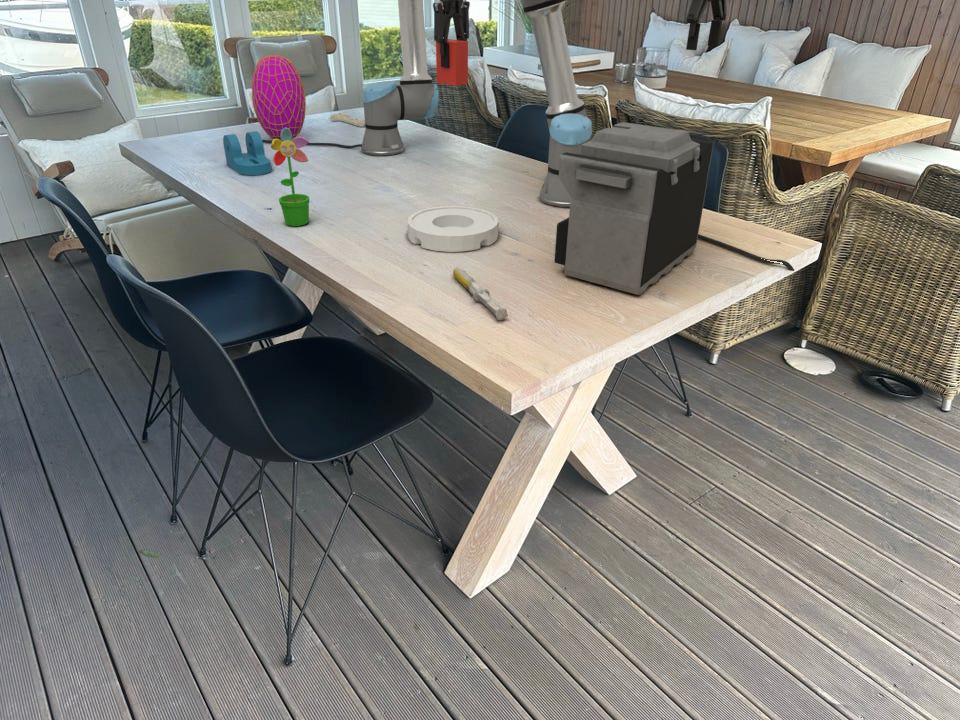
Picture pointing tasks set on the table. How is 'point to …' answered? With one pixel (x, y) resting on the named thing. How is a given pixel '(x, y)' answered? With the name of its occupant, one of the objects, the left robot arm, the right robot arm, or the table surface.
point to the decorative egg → (278, 96)
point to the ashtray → (452, 228)
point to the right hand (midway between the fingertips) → (702, 48)
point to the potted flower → (291, 178)
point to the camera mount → (246, 154)
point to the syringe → (479, 293)
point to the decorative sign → (347, 119)
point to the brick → (453, 63)
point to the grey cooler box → (632, 205)
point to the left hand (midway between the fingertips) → (452, 66)
